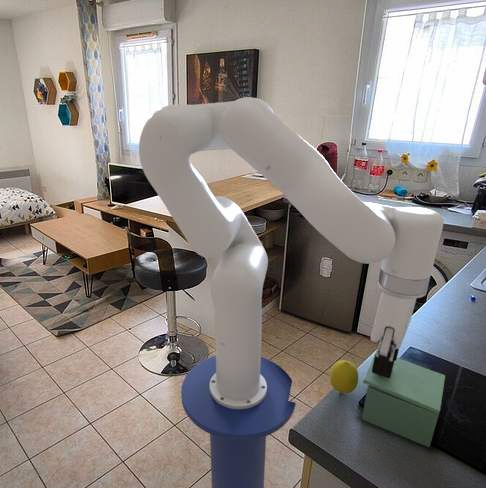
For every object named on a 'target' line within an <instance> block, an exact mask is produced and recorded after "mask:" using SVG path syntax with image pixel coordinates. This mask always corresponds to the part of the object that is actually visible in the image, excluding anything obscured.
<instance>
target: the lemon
mask: <svg viewBox="0 0 486 488" xmlns="http://www.w3.org/2000/svg"><path fill="white" fill-rule="evenodd" d="M329 381H330V382H329V383H330V384H331V387H332V388H333V389H334V390H335V391H336V392H338V393H340V394H344V395H346V394H350V393H353V391H355V390H356V388H357V386H358V384H359V372H358V368H357V366H356V365H355V364H354V363H353V362H351V361H349V360H346V359H341V360H338V361H336V362H335V363H334V364H333V365H332V366H331V369H330V373H329Z"/></svg>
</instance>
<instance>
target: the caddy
mask: <svg viewBox="0 0 486 488" xmlns="http://www.w3.org/2000/svg"><path fill="white" fill-rule="evenodd" d="M439 416H440V413H439V414H437V413H435V412H432V411H430V410H428V409H425V408H423V407H420V406H418V405H415V404H413V403H411V402H408V401H406V400H403V399H401V398H399V397H396V396H394V395H391V394H389V393H387V392H384V391H382V390H379V389H377V388H374V387H372V386H370V385H367V389H366V393H365V399H364V405H363V411H362V417H361V420H363V421H365V422H367V423H370V424H372V425H374V426H377V427H380V428H382V429H384V430H387V431H389V432H391V433H394V434H396V435H398V436H401V437H403V438H405V439H408V440H410V441H413V442H415V443H417V444H420V445H422V446H425V447H427V448H430V447H431V443H432V439H433V437H434V433H435V429H436V426H437V422H438V419H439Z"/></svg>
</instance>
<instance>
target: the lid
mask: <svg viewBox="0 0 486 488" xmlns="http://www.w3.org/2000/svg"><path fill="white" fill-rule="evenodd" d="M391 343H393V344H394V341H391ZM391 350H392V348H389V352H390V354H391ZM376 353H377V350H375V353H374V356H373V357H372V359H371V361H370V364H369V367H368V369H367V370H366V373H365V375H364V378H363V382H362V383H363V384H365V385H367V386H369V385H370V386H372V387H374V388H377V389H379V390H382V391H384V392H387V393H389V394H391V395H394V396H396V397H399V398H401V399H403V400H406V401H408V402H411V403H413V404H415V405H418V406H420V407H423V408H425V409H428V410H430V411H432V412H435V413H437V414H439V415H440V412H441V407H442V400H443V393H444V387H445V380H446V375H445V374H443V373H440V372H437V371H434V370H431V369H430V368H429V369H428V368H426V367H423V366H421V365H418V364H415V363H413V362H409V361H407V360H404V359H402V358H398V357H397V359H396V361H394V365H393V369H392V373H391V377H390V378H386V377H383V376H380V375H377V374H374V373H373V372H372V367H373V362H374V357H375V354H376Z"/></svg>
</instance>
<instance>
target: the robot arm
mask: <svg viewBox="0 0 486 488" xmlns="http://www.w3.org/2000/svg"><path fill="white" fill-rule="evenodd" d="M217 150H218V151H219V150H220V151H221V150H231V151H234V153H236V155H238V156H239V157H240V158H241V159H242V160H243V161H245V162H246V163H247V164H248V165H249V166H251V168H253V170H255V171H257V173H259V174H260V175H261V176H262V177H264V178H265V179H266V180H267V181H268V182H269V183H270V184H272V186H274V187H275V188H276V189H277V190H278V191H279V192H281V193H282V195H284V197H285V198H286V199H287V200H288V202H289V203H290V204H291V205H292V206H293V207H294V208H295V209H296V210H297V211H298V212H299V213H300V214H301V215H302V216H303V217H304V218H305V220H306V221H307V222H308V223H309V224H310V226H312V227H313V228H314V229H315V230H316V231H318V232H319V234H320V235H321V236H322V237H324V238H325V239H326V240H327V241H329V242H330V243H331V244H332V245H333V246H334V247H335V248H336V249H338V250H339V251H340V252H341V253H342V254H344V255H345V256H346V257H347V258H349V259H351V260H353V261H355V262H357V263H360V264H367V265H368V264H369V265H370V264H375V263H379V262H381V265H380V271H379V276H378V282H377V287H378V288H379V289H380V290H381V293H380V297H379V301H378V304H377V310H376V312H375V313H376V314H375V318H374V322H373V326H372V331H371V334H370V341H371V342H372V343H378V345H377V348H376V351H377V353H376V352H375V353H376V354H375V353H374V355H375V357H374V356H373V357H374V362H373V367H372V372H373V373H374V374H377V375H380V376H383V377H386V378H390V377H391V373H392V369H393V365H394V361H396V359H397V358H398V355H399V351H400V348H401V346H402V343H403V341H404V338H405V337H406V334H407V331H408V329H409V325H410V324H411V320H412V317H413V313H414V310H415V305H416V303H417V299H421V298H423V297H425V296H426V295H427V292H428V288H429V284H430V280H431V276H432V273H433V269H434V264H435V259H436V256H437V252H438V248H439V245H440V239H441V237H442V232H443V228H444V221H445V220H444V217H443V216H442V214H440V213H439V212H438V211H435V210H433V209H429V208H424V207H415V206H406V207H396V206H391V205H384V204H379V203H373V202H369V201H368V202H367V201H363V200H361V198H359V197H358V196H357V195H356V194H355V193H354V192H353V191H352V190H351V189H350V188H349V187H348V186H347V185H346V184H345V183H344V182H343V181H342V179H340V177H339V176H338V175H337V174H336V172H335V171H334V170H333V169H332V167H331V166H330V163H329V162H328V161H327V160H326V159H325V157H324V156H323V155H322V154H321V153H320V152H319V151H318V149H316V148H315V147H314V146H312V145H311V144H310V143H309V142H308V141H307V140H305V138H303V137H302V136H300V135H299V134H298V133H297V132H296V131H295V130H293V129H292V128H291V127H290V126H289V125H288V124H287V123H285V121H284V120H283V119H281V118H280V117H279V116H278V115H277V114H276V113H275V112H274V110H273V108H272V106H270V104H269V103H267V101H265V100H262V99H261V98H258V97H251V96H244V97H240V98H238V99H235V100H231V101H222V102H211V103H210V102H209V103H198V104H197V103H196V104H183V103H181V104H179V103H178V104H169V105H165V106H163V107H161V108H159V109H157V110H155V112H154V113H152V115H150V117H149V118H148V119H147V121H146V122H145V124H144V126H143V127H142V131H141V133H140V137H139V141H138V157H139V162H140V166H141V168H142V171H143V173H144V176H145V177H146V179H147V181H148V182H149V183H150V185H151V187H152V188H153V189H154V191H155V192H156V194H157V195H158V196H159V198H160V200H161V201H162V203H163V204H164V206H165V208H166V209H167V211H168V213H169V214H170V216H171V218H172V219H173V221H174V222H175V224H176V225H177V227H178V229H179V230H180V232H181V234H182V235H183V236H184V238H185V239H186V242H187V243H188V244H189V246H190V247H191V249H192V250H193V252H195V253H196V254H197V255H199V256H201V257H202V258H208V259H210V258H211V259H212V258H216V257H220V260H219V262H218V263H217V266H216V268H215V270H214V272H213V275H212V278H211V284H210V292H211V299H212V306H213V314H214V317H213V318H214V335H215V336H214V337H215V356H216V373H215V374H214V375H213V377H212V378H211V380H210V384H209V386H210V393H211V395H212V397H213V399H214V400H215V401H216V402H218V403H219V404H221V405H222V406H224V407H227V408H231V409H248V408H251V407H254V406H256V405H258V404H259V403H260V402H261V401H262V400H263V399H264V398H265V396H266V393H267V384H266V381H265V379H264V378H263V376H262V375H261V374H260V364H261V357H262V327H263V326H262V325H263V324H262V323H263V304H262V303H263V290H264V289H263V288H264V283H265V279H266V275H267V271H268V266H269V258H268V254H267V252H266V249H265V247H264V245H263V244H262V242H261V240H260V238H259V237H258V235H257V233H256V231H254V229H253V227H252V225H251V224H250V222H249V220H248V218H247V216H246V215H245V213H244V212H243V210H242V209H241V208H240V206H239V205H238V204H237V203H235V201H233V200H232V199H230V198H227V197H225V196H214V194H213V192H212V191H211V189H210V188H209V186H208V184H207V182H206V180H205V179H204V177H203V176H202V175H201V174H200V172H198V170H197V169H196V168H195V167H194V166H193V164H192V162H191V158H190V157H191V155H194V154H196V153H198V152H205V151H217ZM391 341H394V344H393V343H391ZM389 348H392V350H391V354H390V352H389Z"/></svg>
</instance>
